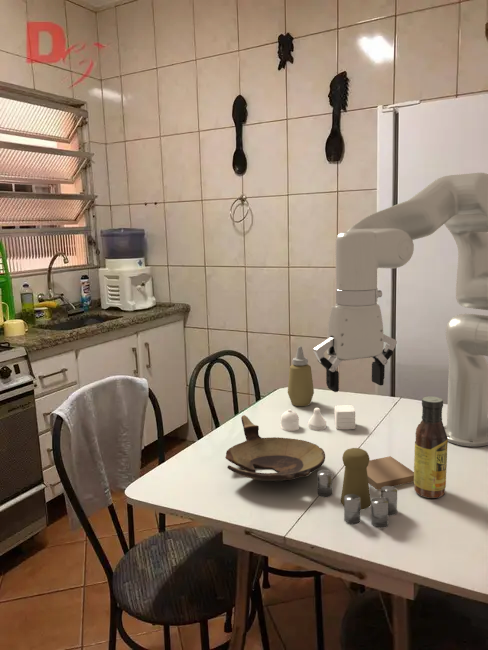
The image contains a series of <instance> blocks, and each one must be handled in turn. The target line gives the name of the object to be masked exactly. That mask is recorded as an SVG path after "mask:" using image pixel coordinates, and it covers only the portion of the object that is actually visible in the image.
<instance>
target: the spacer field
mask: <svg viewBox="0 0 488 650" xmlns="http://www.w3.org/2000/svg"><path fill="white" fill-rule="evenodd" d="M317 495H318V496H320V497H323V498H328V497H332V495H333V472H332V471H331V470H328V469H321V470H318V471H317ZM370 507H371V510H370V511H371V512H370V513H371V515H370V516H371V518H370V519H371V520H370V522H371V526H373V527H374V528H377V529H383V528H387V527H388V525H389V516H395V515H397V514H398V488H397V487H396V486H393V487H392V486H384V487H382V488H381V489H380V496H379V497H377V496H376V497H373V498H371V506H370ZM360 509H361V498H360V497H359V496H358V495H355V494H348V495H345V496H344V506H343V515H344V517H343V519H344V522H345V523H346V524H349V525H358V524H360V523H361V510H360Z"/></svg>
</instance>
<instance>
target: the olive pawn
mask: <svg viewBox="0 0 488 650" xmlns="http://www.w3.org/2000/svg"><path fill="white" fill-rule="evenodd" d="M369 460H370V456H369V454H368V451H367V450H365V449H363V448H359V447H351V448H347V449H346V450H344V452H343V454H342V463H343V465H344V473H343V481H342V487H341V495H340V504H341V505H342V506H343V507H344V496H345V495H348V494H355V495H358V496H359V497H360V498H361V509H360V511H362V510H366V509H368V508H370V507H371V500H372V497H371V492H370V484H369V482H368V475H367V466H368V464H369Z"/></svg>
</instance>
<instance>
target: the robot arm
mask: <svg viewBox="0 0 488 650" xmlns="http://www.w3.org/2000/svg"><path fill="white" fill-rule="evenodd" d="M442 226H445V227H446V228H447V229H448V231H449V232H450V234H451V236H452V237H453V239H454V241H455V243H456V246H457V251H458V253H457V256H458V257H457V269H456V280H455V281H456V284H455V298H456V301H457V304H458V305H460V306H461V307H464V308H468V309H473V310H483V311H488V173H485V172H473V173H472V172H471V173H462V174H460V173H459V174H449V175H444V176H440V177H438V178H437V179H435V180H434V181H432V182H431V183H429V184H428V185H427V186H425V187H424V188H423V189H421V190H420V191H418V192H417V194H415V195H413V196H412V197H411V198H409V199H408V200H404V201H403V202H400V203H397V204H395V205H392V206H389V207H388V208H385V209H382V210H379V211H377V212H374V213H372V214H370V215H367V216H366V217H364V218H362V219H360V220H359V221H357V222H356V223H355V224H353V225H352V226H351V227H349V229H347V231H342V232H339V233H338V234H337V236H336V239H335V305H331V306H330V312H329V316H328V322H327V331H326V334H327V335H326V339H325V340H324V341H322V342H321V343H319V344H318V345H317V346H315V347H314V348H313V349H312V350H313V353H314V355H315V358H316V359H317V362H318V363H319V364H321V365H322V367H323V368H324V369H325V371H326V373H325V374H326V375H325V377H326V379H325V381H326V386H327V388H328V389H329V390H330V391H332V392H334V393H338V392H339V390H340V386H339V385H340V373H339V371H338V370H337V369H338V367H339V366H340V364H342V362H343V361H345V362H346V361H352V360H361V359H362V360H363V359H369V358H372V359H373V360H374V361H372V363H371V382H372V383H375V384H376V385H379V386H381V387H382V386H384V383H385V380H384V379H385V372H386V370H385V367H386V365H387V364H388V363H389V362H388V361H389V359H390V358H391V357H392V356H393V353H394V349H395V348H396V345H397V343H398V340H396V339H395V338H392V337H390V336H388V335H386V334H384V323H383V315H382V310H381V307H380V306H381V305H380V304H378V299H379V298H382V296H383V292H382V290H378V269H398V268H401V267H403V266H405V265H406V264H407V263H409V261H410V260H411V258H412V257H413V254H414V250H415V248H414V241H415V240H418V239H422V238H425V237H428V236H431V235H432V234H434V233H435V232H436V231H438V230H439V229H440V228H441V227H442ZM445 339H446V345H447V350H448V379H447V380H448V382H447V383H448V384H447V387H448V388H447V410H446V411H447V413H446V415H447V416H446V417H447V418H446V424H445V425H443V426H444V429H445V432H446V435H447V438H448V442H449V443H451V444H454V445H457V446H461V447H462V446H463V447H474V448H475V447H486V446H488V362H487V360H486V358H485V357H488V315H484V314H475V313H461V314H456V315H454V316H453V317H451V318H450V319H449V320H448V322H447V324H446V327H445ZM384 343H385V347H384ZM325 352H326V353H327V355H328V358H327V357H326V355H325Z"/></svg>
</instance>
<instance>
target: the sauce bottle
mask: <svg viewBox="0 0 488 650" xmlns="http://www.w3.org/2000/svg"><path fill="white" fill-rule="evenodd" d="M421 406H422V409H421V411H422V415H421V421H420V422H419V424H418V425H417V427H416V429H415V441H414V458H413V472H414V482H413V484H414V485H413V488H414V491H415V493H416V494H417V495H418V496H421V497H423V498H427V499H437V498H441V497H443V496H444V495H445V493H446V487H447V469H448V468H447V466H448V465H447V463H448V461H447V460H448V444H449V443H448V438H447V435H446V432H445V429H444V426H445V425H444V423H443V407H444V400H443V398H441V397H438V396H424V397H422V399H421Z"/></svg>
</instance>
